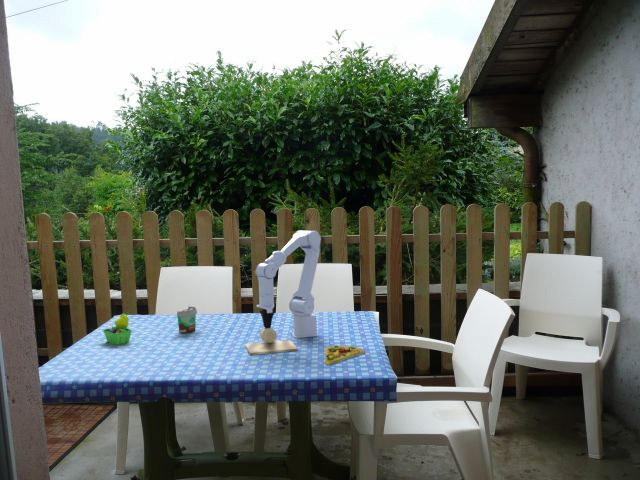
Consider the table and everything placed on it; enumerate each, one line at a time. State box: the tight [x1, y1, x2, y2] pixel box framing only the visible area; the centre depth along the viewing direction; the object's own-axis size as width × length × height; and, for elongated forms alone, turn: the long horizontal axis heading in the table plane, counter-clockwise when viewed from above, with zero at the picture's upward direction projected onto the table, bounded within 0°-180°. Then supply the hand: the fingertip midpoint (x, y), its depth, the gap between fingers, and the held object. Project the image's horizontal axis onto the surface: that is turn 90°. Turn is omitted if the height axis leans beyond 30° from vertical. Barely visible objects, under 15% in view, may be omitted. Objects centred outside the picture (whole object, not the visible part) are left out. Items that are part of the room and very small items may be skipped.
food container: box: [176, 305, 198, 335], centre depth 248 cm, size 12×6×10 cm, turn 168°
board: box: [244, 339, 298, 356], centre depth 216 cm, size 18×14×1 cm
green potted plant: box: [102, 313, 133, 346], centre depth 232 cm, size 11×9×11 cm
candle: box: [259, 327, 278, 343], centre depth 220 cm, size 6×6×10 cm
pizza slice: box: [325, 345, 366, 366], centre depth 202 cm, size 16×21×3 cm
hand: (267, 327), depth 222 cm, fingers closed
